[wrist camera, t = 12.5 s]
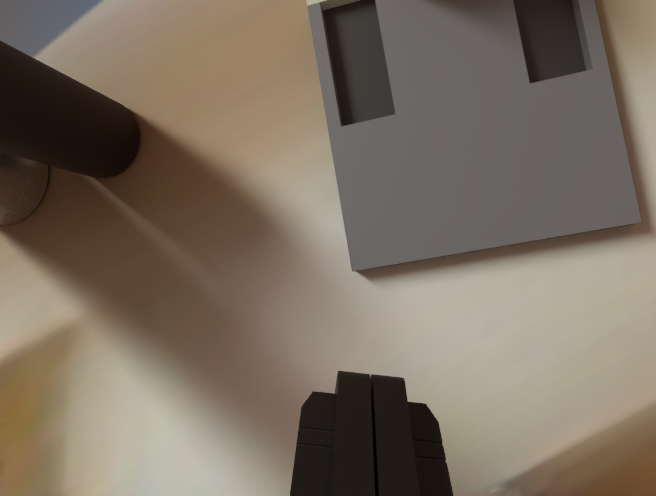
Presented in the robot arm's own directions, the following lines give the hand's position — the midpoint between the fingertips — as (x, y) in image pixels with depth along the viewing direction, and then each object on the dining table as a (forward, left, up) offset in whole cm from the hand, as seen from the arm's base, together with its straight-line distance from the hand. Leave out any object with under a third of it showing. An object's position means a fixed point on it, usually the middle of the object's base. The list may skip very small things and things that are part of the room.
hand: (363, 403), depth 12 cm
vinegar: (-30, -3, -28) cm, 41 cm away
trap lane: (-8, +17, -27) cm, 33 cm away
